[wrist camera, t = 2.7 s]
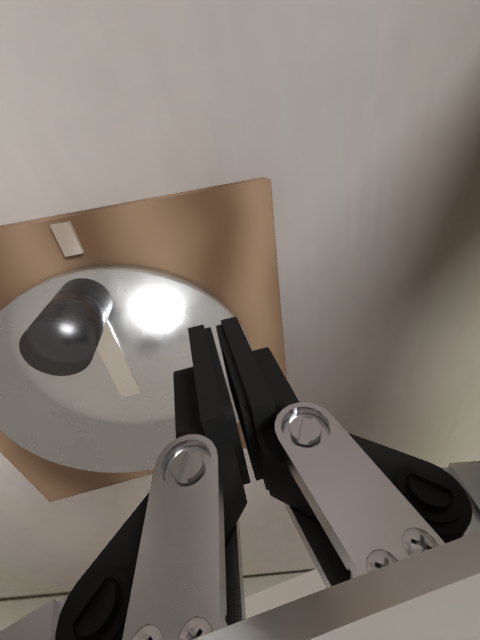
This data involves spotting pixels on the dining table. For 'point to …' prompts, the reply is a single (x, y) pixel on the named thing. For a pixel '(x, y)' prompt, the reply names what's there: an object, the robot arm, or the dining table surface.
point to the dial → (100, 363)
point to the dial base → (162, 253)
